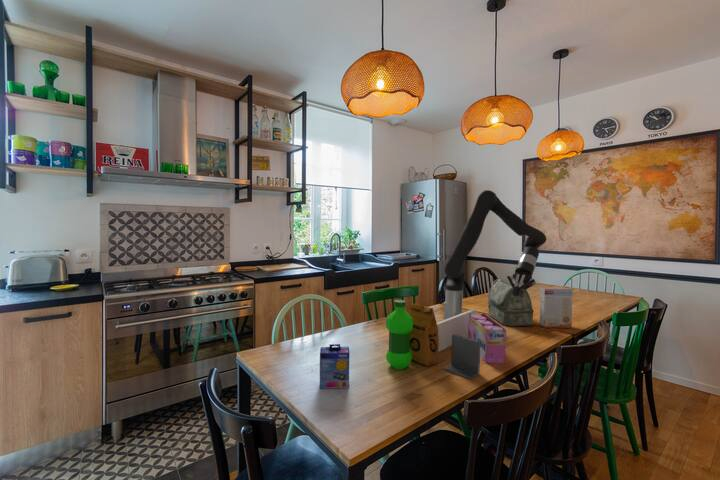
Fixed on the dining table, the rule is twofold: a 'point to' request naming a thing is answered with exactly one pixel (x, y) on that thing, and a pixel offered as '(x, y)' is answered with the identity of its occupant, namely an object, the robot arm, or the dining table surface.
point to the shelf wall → (453, 328)
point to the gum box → (488, 338)
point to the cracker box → (556, 307)
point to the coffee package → (424, 335)
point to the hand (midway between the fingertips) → (515, 295)
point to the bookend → (464, 357)
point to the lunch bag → (509, 305)
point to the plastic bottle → (399, 336)
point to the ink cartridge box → (334, 367)
